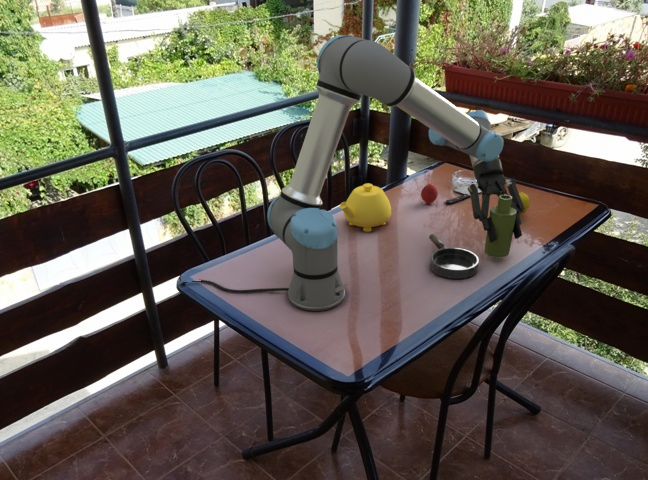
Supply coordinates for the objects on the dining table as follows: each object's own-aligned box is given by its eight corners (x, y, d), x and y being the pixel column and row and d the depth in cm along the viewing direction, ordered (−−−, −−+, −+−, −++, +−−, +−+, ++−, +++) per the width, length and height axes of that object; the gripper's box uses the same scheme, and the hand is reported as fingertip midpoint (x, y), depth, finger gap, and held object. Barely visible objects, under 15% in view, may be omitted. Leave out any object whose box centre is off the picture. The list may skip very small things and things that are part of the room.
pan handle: (441, 253, 164) (442, 248, 163) (428, 238, 172) (428, 233, 171) (447, 252, 164) (447, 247, 163) (433, 238, 172) (434, 232, 171)
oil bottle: (491, 259, 158) (500, 203, 149) (480, 248, 164) (487, 194, 155) (513, 255, 159) (523, 200, 150) (501, 245, 165) (510, 190, 155)
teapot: (357, 242, 176) (358, 202, 168) (324, 227, 186) (323, 189, 179) (400, 223, 186) (402, 184, 178) (366, 210, 196) (367, 172, 189)
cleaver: (430, 197, 202) (451, 205, 195) (430, 195, 202) (451, 204, 195) (484, 178, 215) (506, 185, 208) (485, 176, 215) (506, 183, 207)
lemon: (528, 213, 186) (532, 190, 182) (524, 219, 182) (529, 197, 178) (511, 210, 189) (515, 188, 185) (507, 216, 185) (511, 194, 181)
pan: (440, 283, 153) (441, 272, 151) (422, 260, 164) (423, 251, 162) (485, 276, 154) (487, 266, 153) (464, 254, 165) (466, 245, 164)
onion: (438, 206, 195) (440, 184, 191) (422, 207, 196) (423, 185, 191) (435, 200, 200) (436, 178, 196) (418, 200, 200) (420, 179, 196)
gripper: (512, 165, 165) (532, 238, 160) (448, 173, 162) (467, 248, 158) (524, 153, 157) (546, 229, 153) (458, 161, 155) (478, 239, 150)
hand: (506, 238), depth 155 cm, fingers closed on oil bottle, 7 cm apart
